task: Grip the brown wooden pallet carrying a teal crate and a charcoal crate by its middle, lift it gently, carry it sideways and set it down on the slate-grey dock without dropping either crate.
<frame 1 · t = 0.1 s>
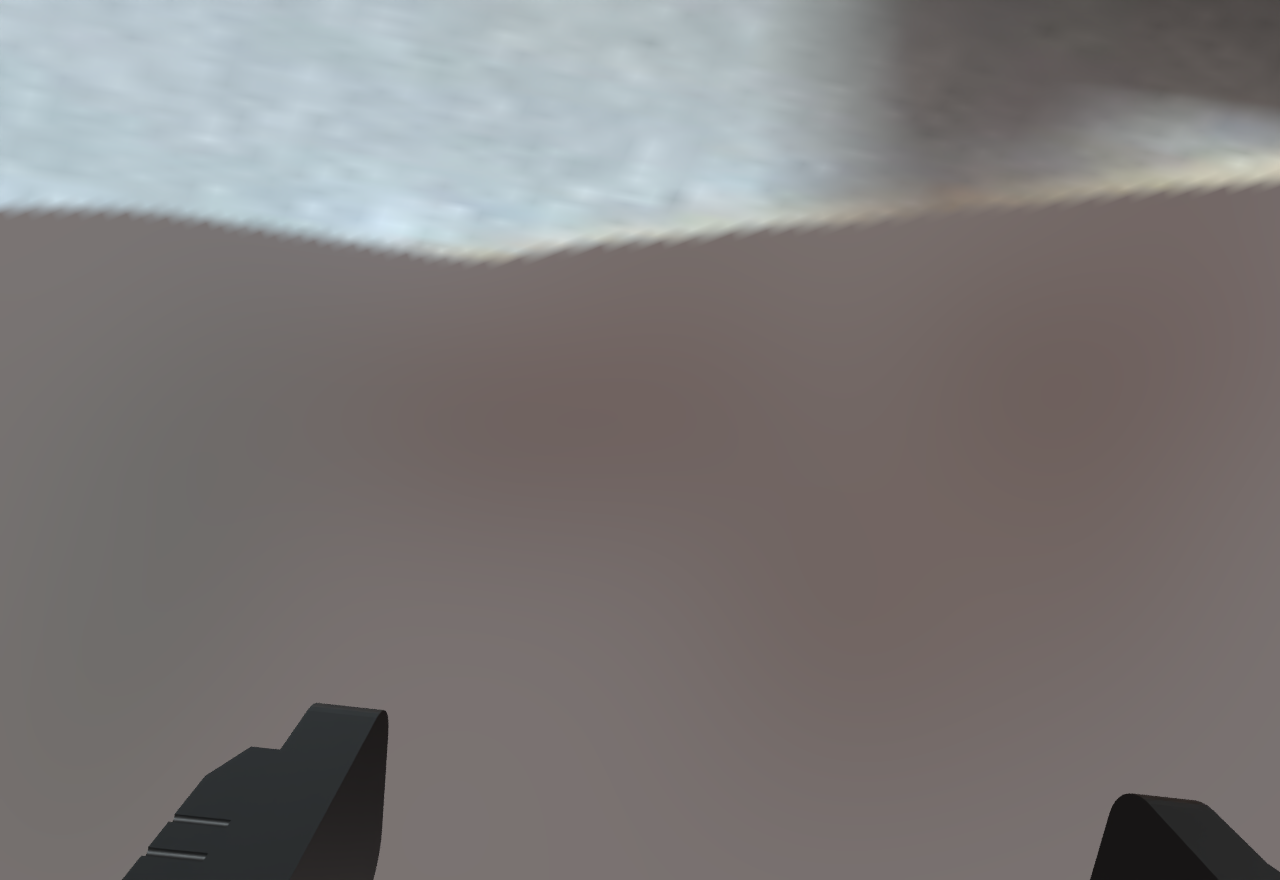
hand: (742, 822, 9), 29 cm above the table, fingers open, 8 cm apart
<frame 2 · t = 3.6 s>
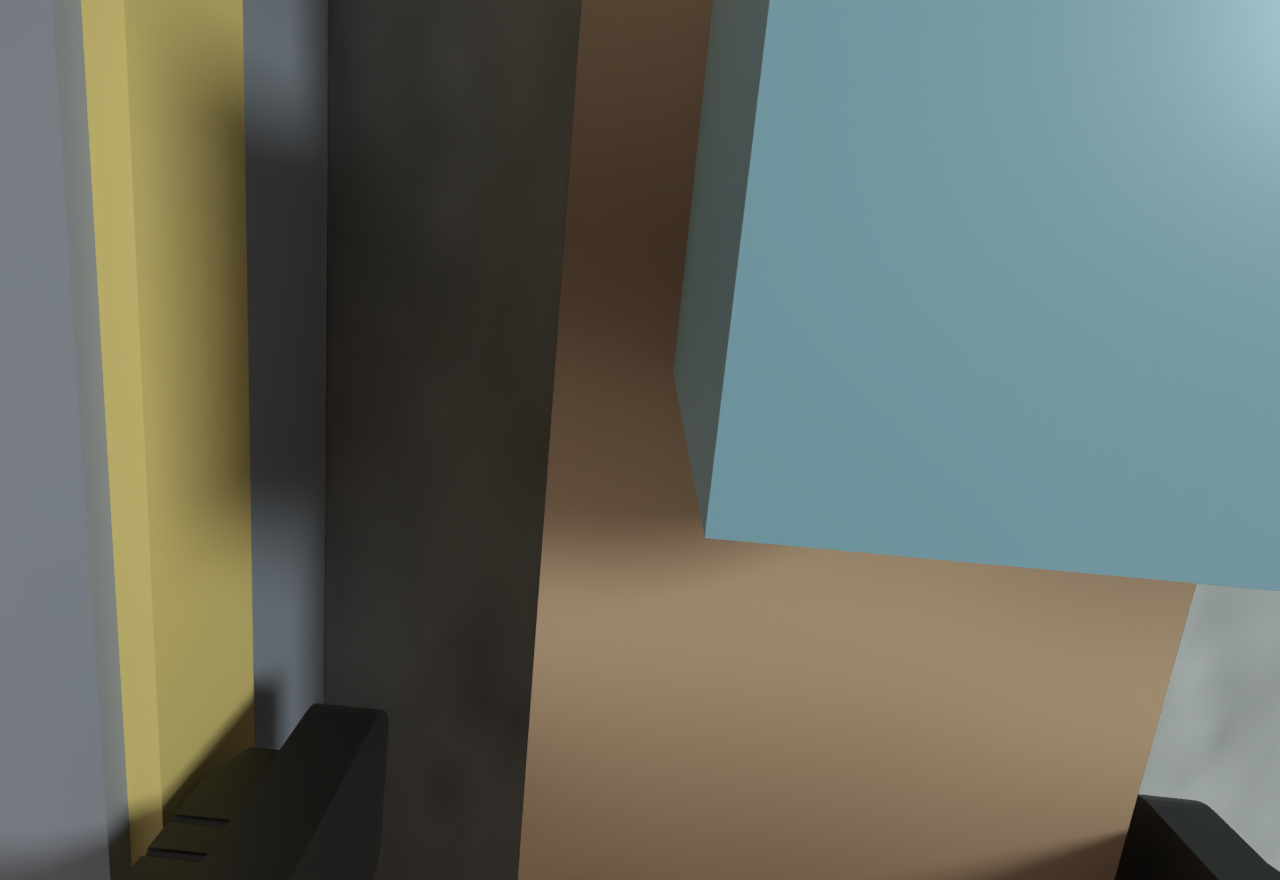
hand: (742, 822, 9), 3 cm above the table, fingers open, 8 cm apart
crate a: (944, 153, 7), point 4 cm above the table, touching pallet
pallet: (762, 674, 12), on the table, touching crate a, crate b
dock: (12, 608, 12), on the table
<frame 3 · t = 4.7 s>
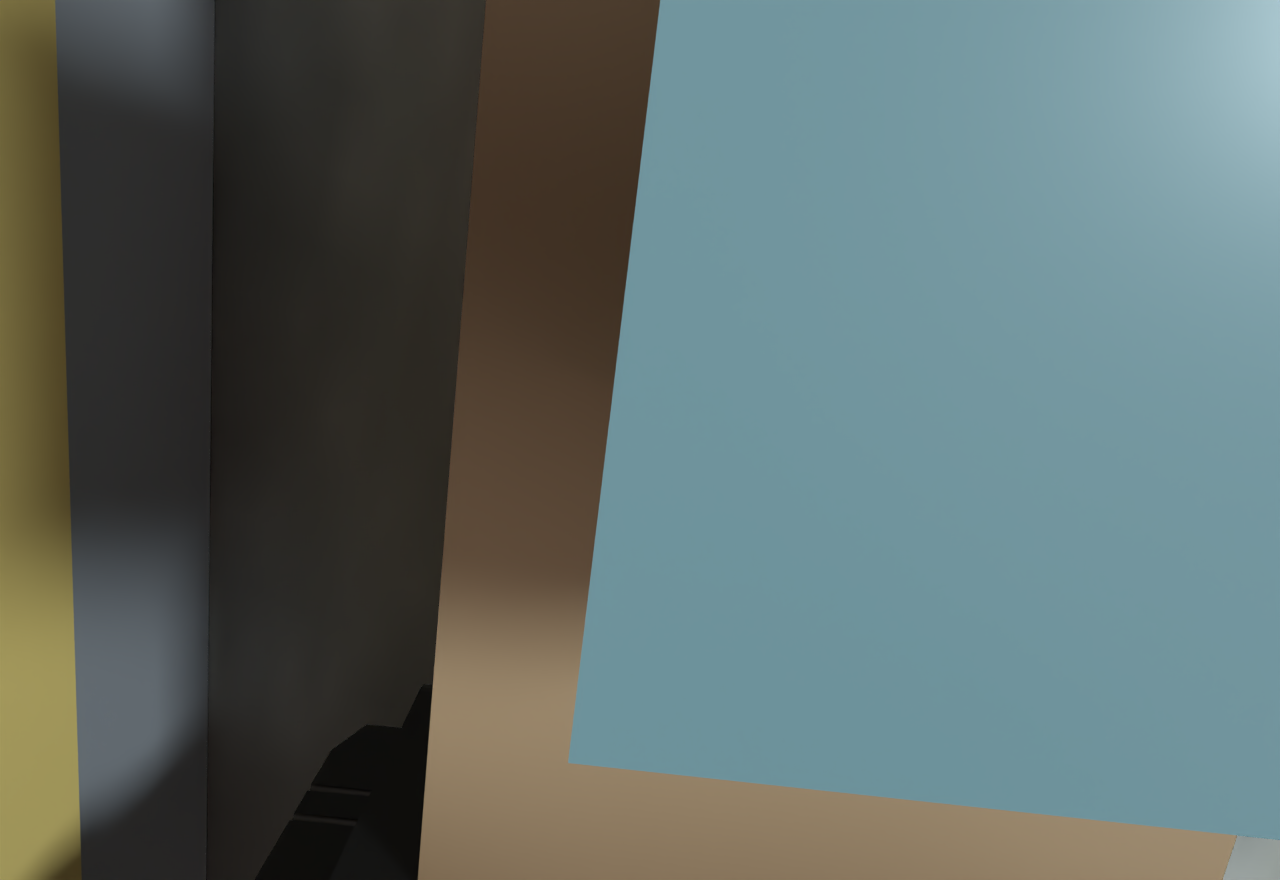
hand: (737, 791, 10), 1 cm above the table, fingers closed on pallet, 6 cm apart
crate a: (985, 104, 5), point 4 cm above the table, touching pallet
pallet: (731, 744, 11), on the table, touching crate a, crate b, gripper
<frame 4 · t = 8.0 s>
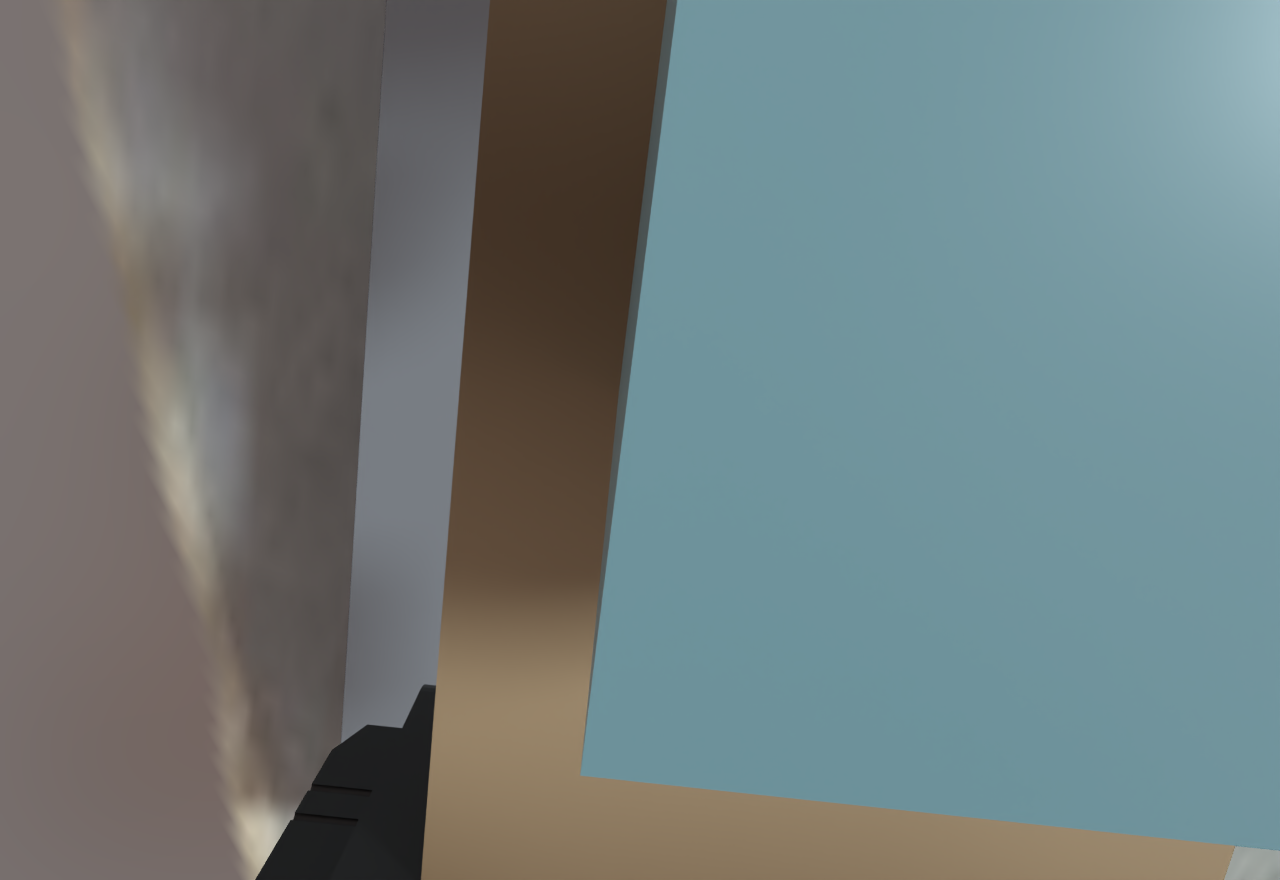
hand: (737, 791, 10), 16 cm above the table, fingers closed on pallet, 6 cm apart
crate a: (987, 110, 5), point 19 cm above the table, touching pallet
pallet: (732, 745, 11), point 15 cm above the table, touching crate a, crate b, gripper
dock: (566, 433, 25), on the table
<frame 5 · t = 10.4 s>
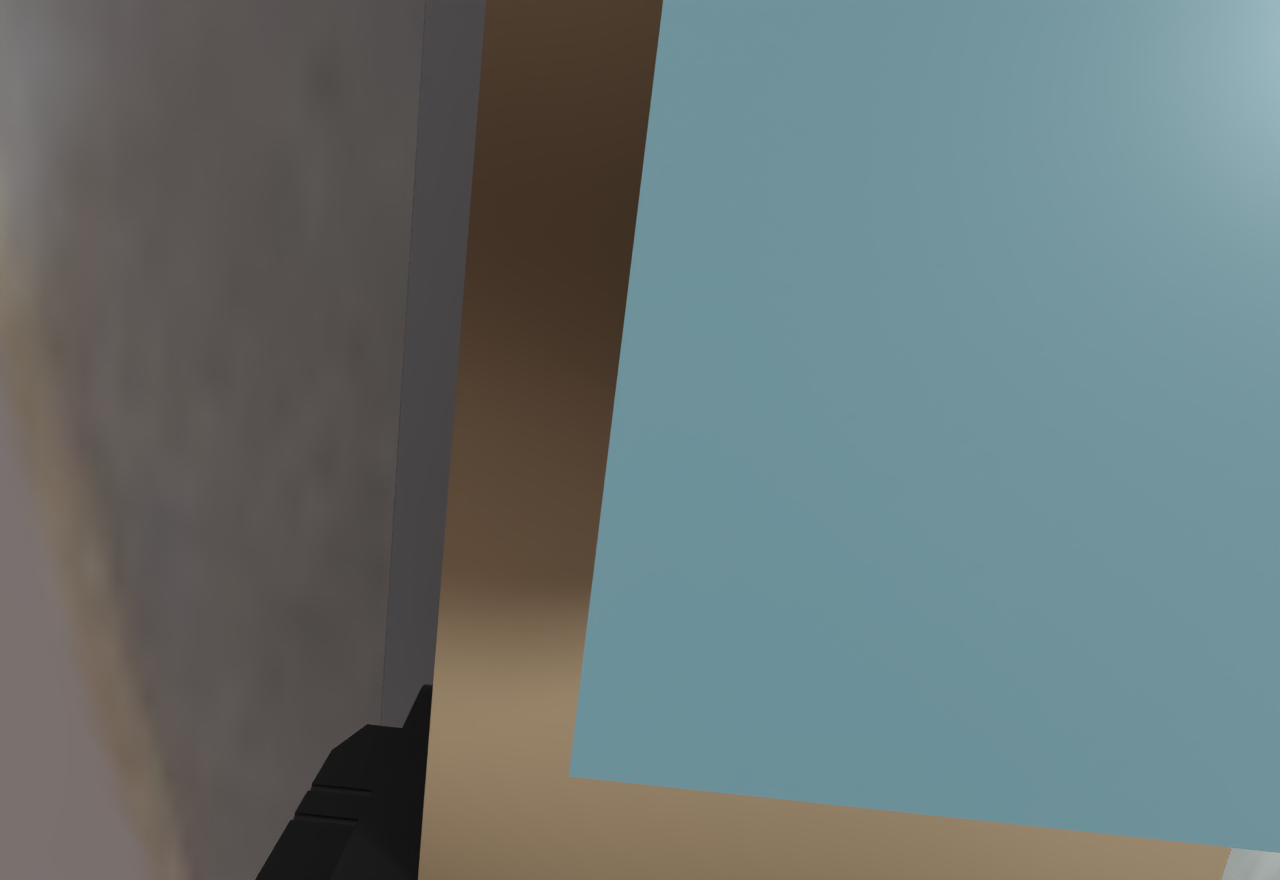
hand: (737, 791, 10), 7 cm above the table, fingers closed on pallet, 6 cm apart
crate a: (984, 110, 5), point 10 cm above the table, touching pallet
pallet: (730, 746, 11), point 6 cm above the table, touching crate a, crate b, gripper
dock: (691, 573, 16), on the table
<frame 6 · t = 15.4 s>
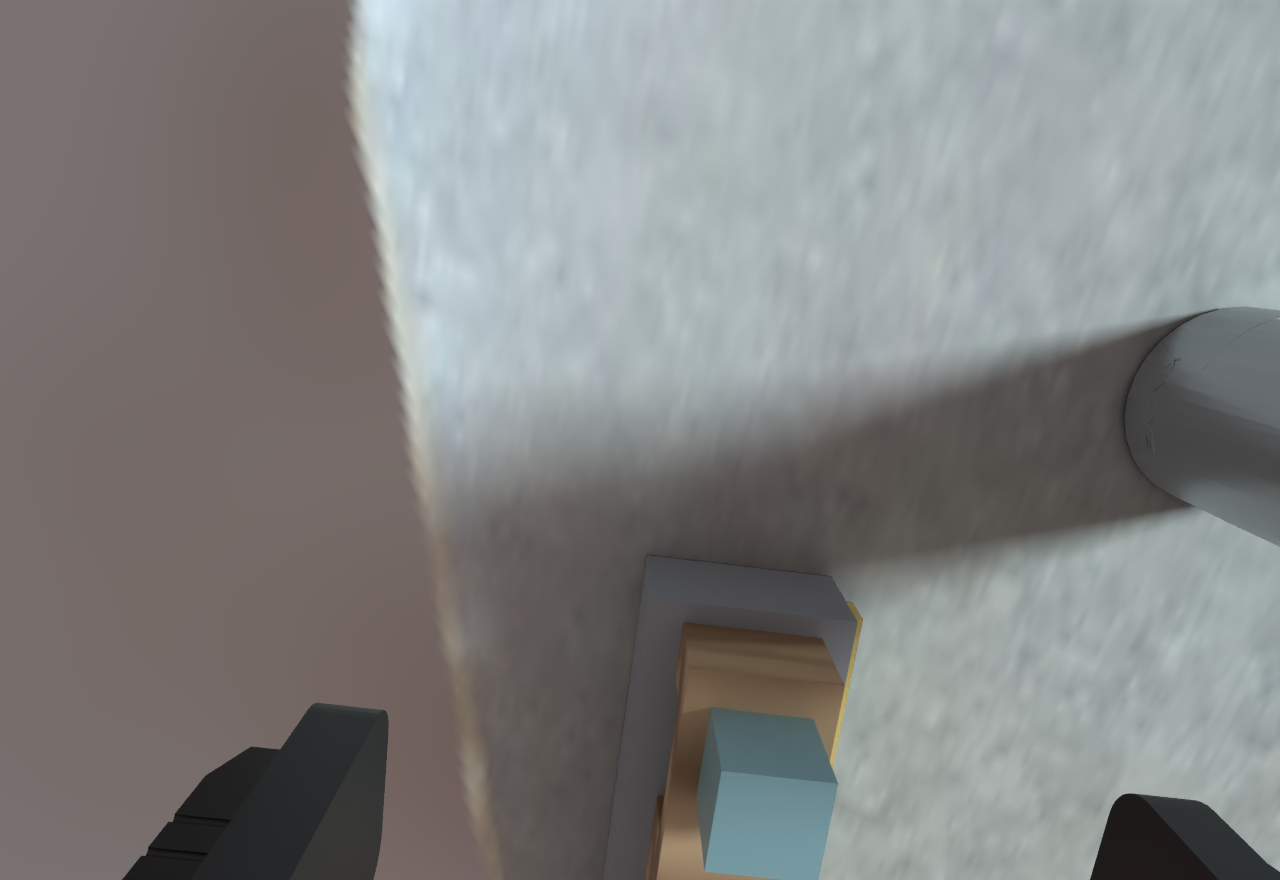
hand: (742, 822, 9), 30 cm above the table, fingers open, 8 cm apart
crate a: (754, 758, 33), point 9 cm above the table, touching pallet
pallet: (716, 840, 38), point 5 cm above the table, touching crate a, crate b, dock
dock: (705, 774, 43), on the table
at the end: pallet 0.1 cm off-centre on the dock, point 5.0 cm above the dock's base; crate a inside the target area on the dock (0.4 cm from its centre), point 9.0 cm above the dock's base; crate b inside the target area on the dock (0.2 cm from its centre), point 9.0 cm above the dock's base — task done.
